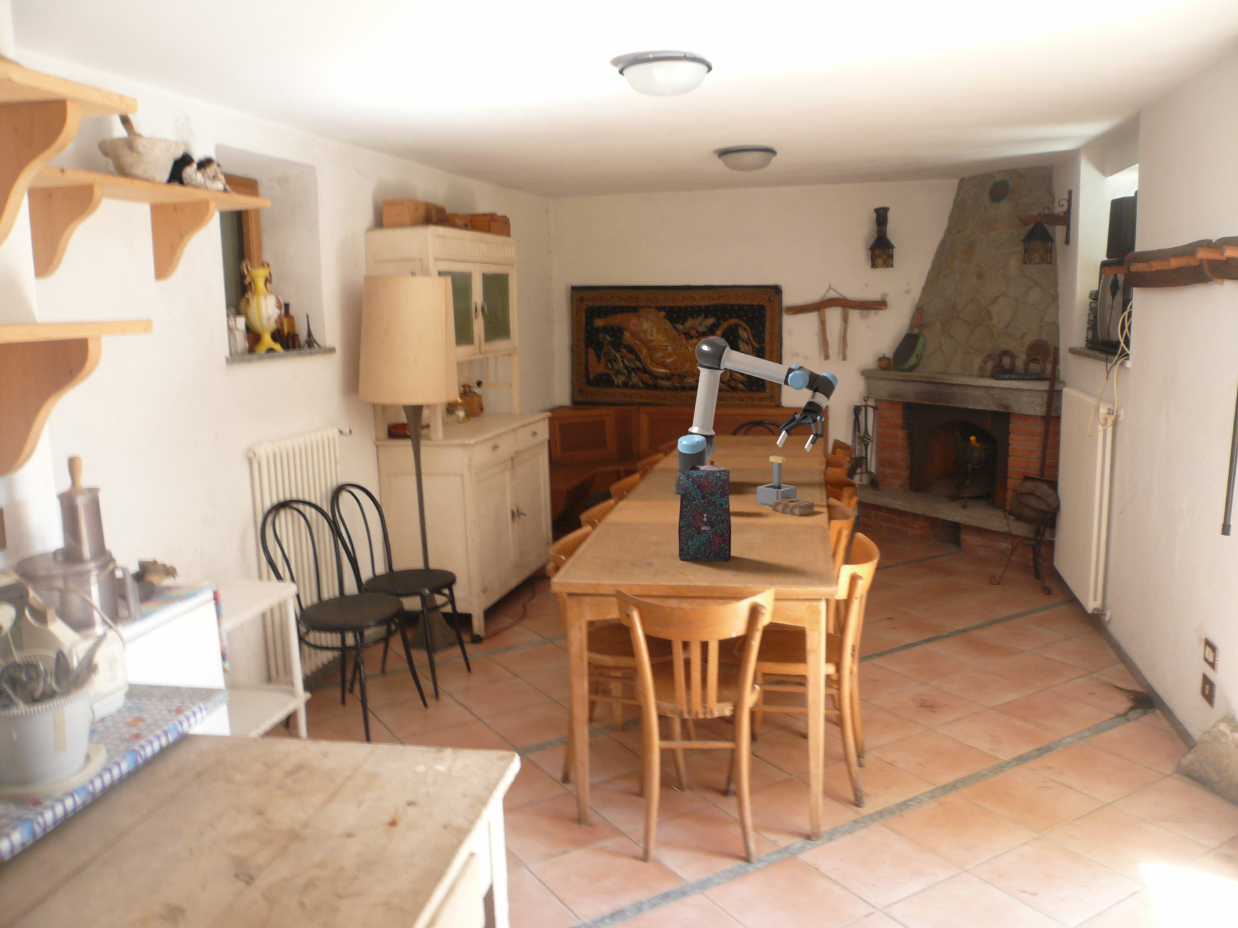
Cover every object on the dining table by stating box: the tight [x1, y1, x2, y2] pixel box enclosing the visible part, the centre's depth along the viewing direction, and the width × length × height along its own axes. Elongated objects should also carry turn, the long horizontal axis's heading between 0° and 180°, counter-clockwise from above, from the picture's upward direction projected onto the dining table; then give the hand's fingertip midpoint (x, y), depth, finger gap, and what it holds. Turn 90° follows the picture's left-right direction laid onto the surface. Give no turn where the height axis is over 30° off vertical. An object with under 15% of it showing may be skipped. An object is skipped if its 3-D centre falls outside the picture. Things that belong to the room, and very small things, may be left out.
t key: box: [769, 455, 787, 490], centre depth 378 cm, size 6×2×18 cm, turn 45°
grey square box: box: [756, 482, 798, 507], centre depth 379 cm, size 11×11×7 cm
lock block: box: [772, 497, 815, 517], centre depth 366 cm, size 12×10×4 cm
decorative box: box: [677, 469, 732, 562], centre depth 301 cm, size 8×16×28 cm, turn 84°
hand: (792, 447), depth 384 cm, fingers open, 13 cm apart
